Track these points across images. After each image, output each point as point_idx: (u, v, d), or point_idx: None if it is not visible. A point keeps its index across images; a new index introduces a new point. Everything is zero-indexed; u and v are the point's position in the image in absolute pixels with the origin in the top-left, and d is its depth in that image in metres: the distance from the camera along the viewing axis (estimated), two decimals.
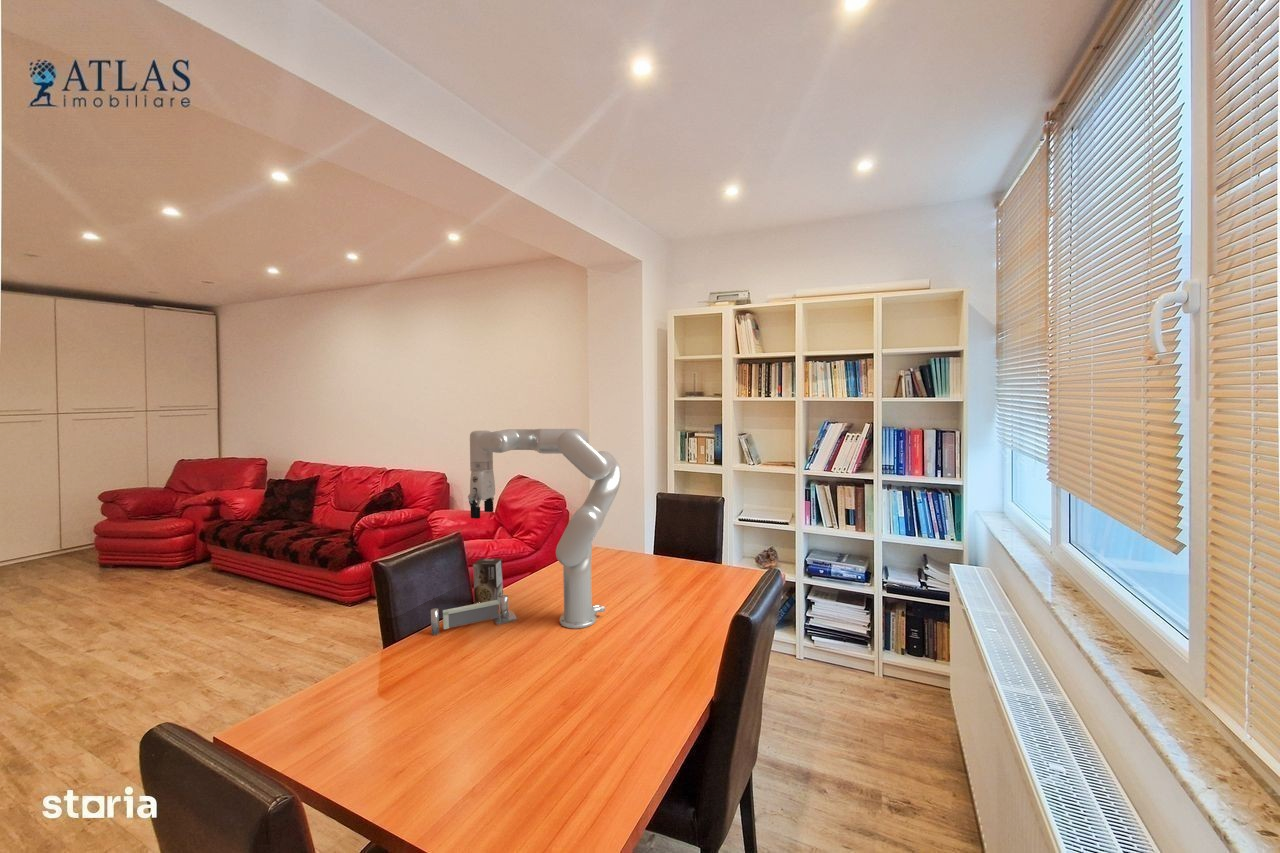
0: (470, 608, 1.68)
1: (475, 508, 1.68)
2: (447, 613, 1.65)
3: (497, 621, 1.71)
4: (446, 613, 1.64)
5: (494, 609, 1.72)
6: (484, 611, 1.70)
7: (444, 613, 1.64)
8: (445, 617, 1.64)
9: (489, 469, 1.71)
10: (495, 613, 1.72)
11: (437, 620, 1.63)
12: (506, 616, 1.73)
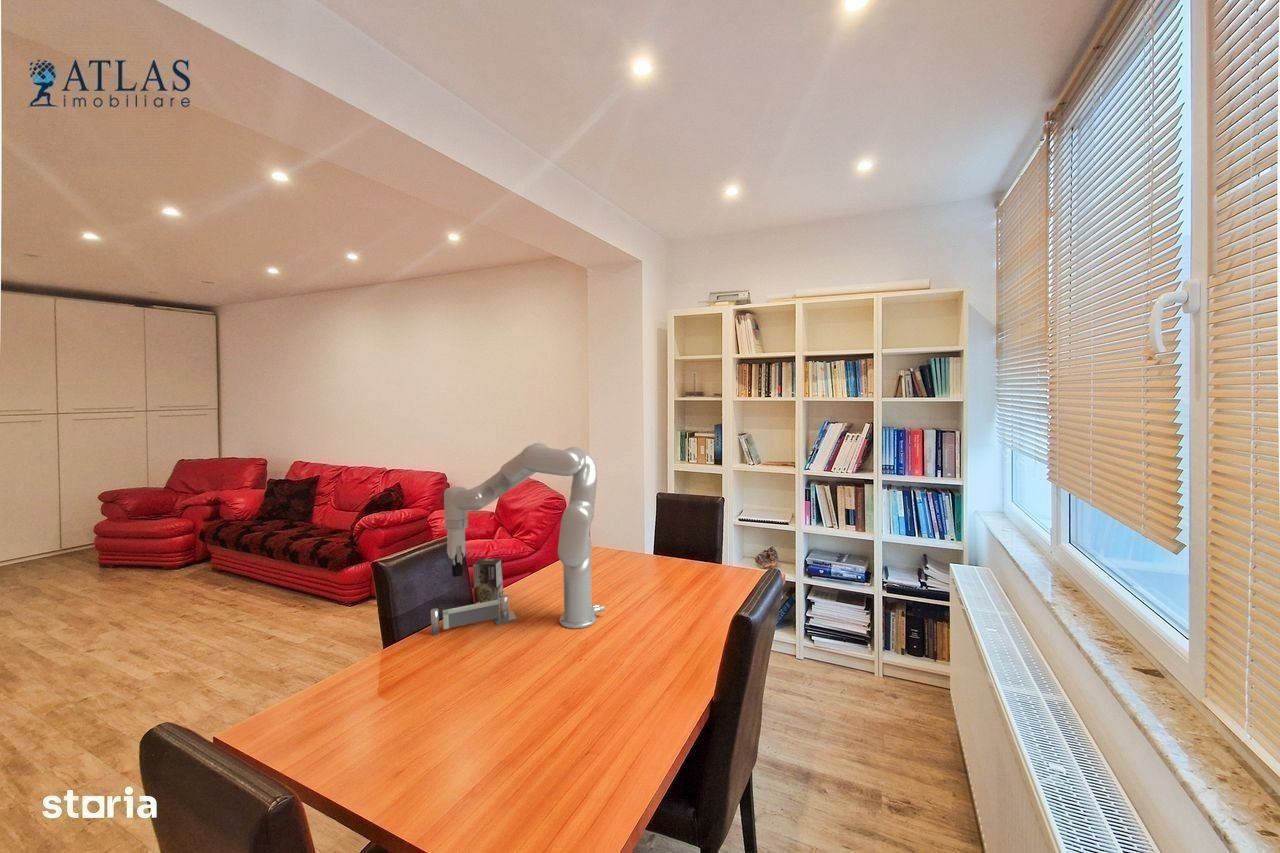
0: (470, 608, 1.68)
1: None
2: (447, 613, 1.65)
3: (497, 621, 1.71)
4: (446, 613, 1.64)
5: (494, 609, 1.72)
6: (484, 611, 1.70)
7: (444, 613, 1.64)
8: (445, 617, 1.64)
9: None
10: (495, 613, 1.72)
11: (437, 620, 1.63)
12: (506, 616, 1.73)
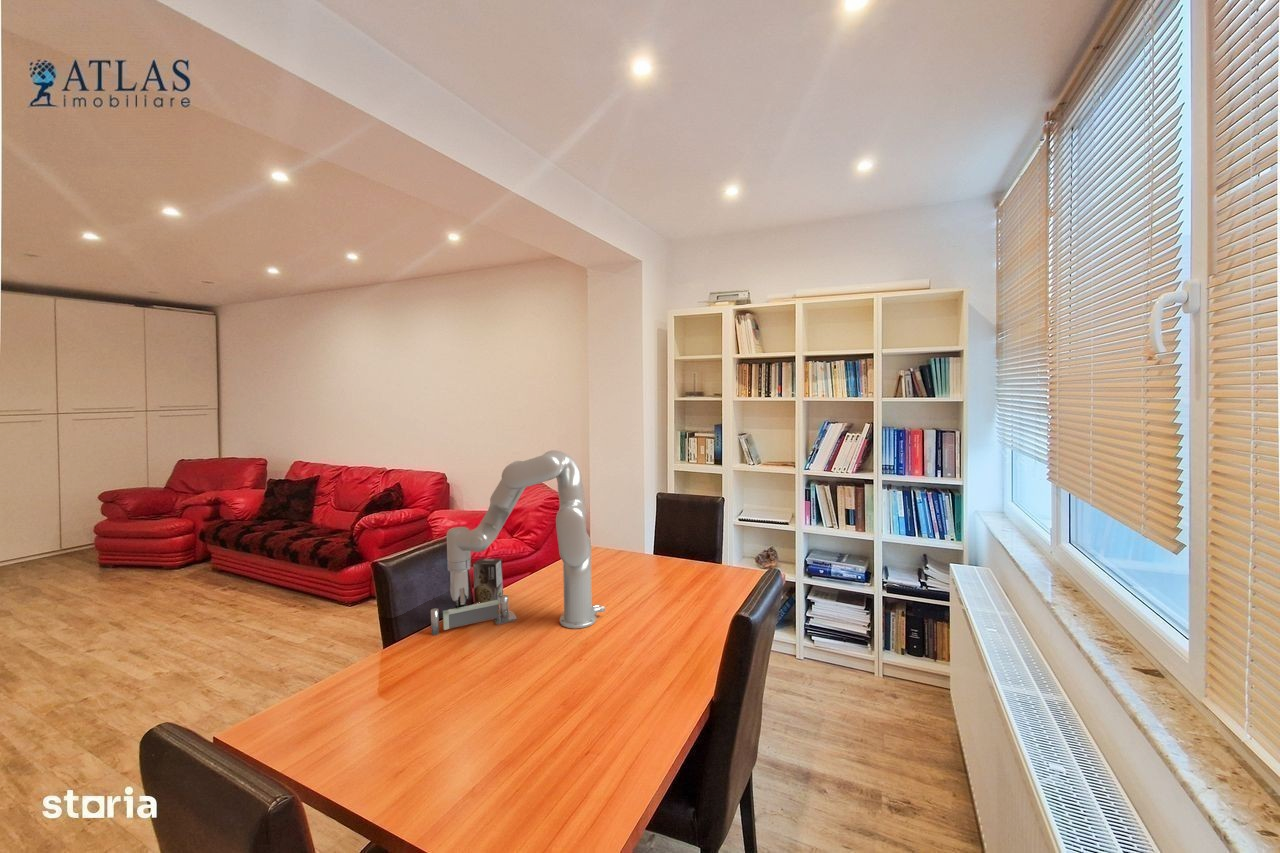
0: (470, 608, 1.68)
1: None
2: (447, 613, 1.64)
3: (497, 621, 1.71)
4: (446, 613, 1.64)
5: (494, 609, 1.72)
6: (484, 611, 1.70)
7: (444, 613, 1.64)
8: (445, 617, 1.64)
9: None
10: (495, 613, 1.72)
11: (437, 620, 1.63)
12: (506, 616, 1.73)
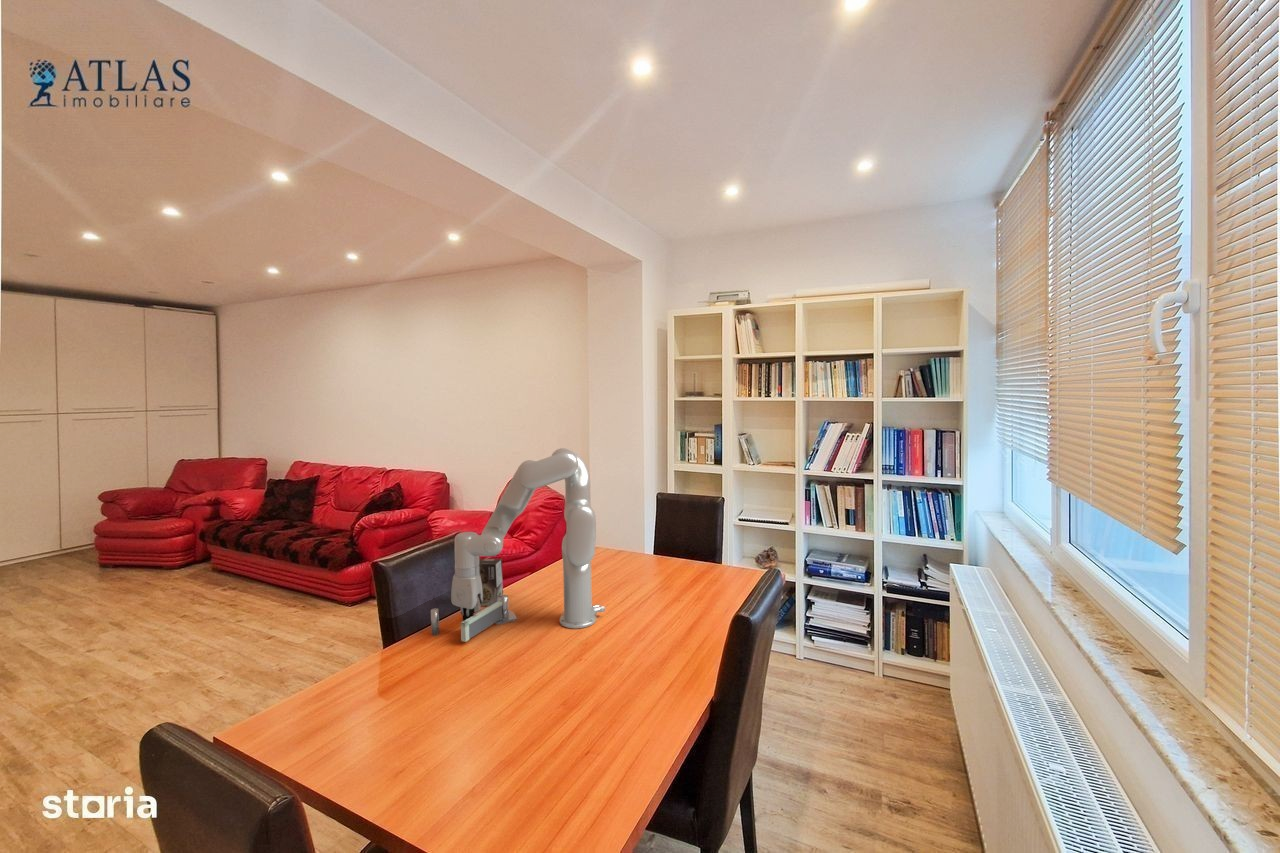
0: (483, 614, 1.63)
1: None
2: (468, 624, 1.57)
3: (497, 621, 1.71)
4: (467, 624, 1.56)
5: (499, 611, 1.71)
6: (492, 614, 1.68)
7: (466, 624, 1.56)
8: (466, 628, 1.56)
9: (456, 576, 1.60)
10: (499, 614, 1.71)
11: (437, 620, 1.63)
12: (506, 616, 1.73)
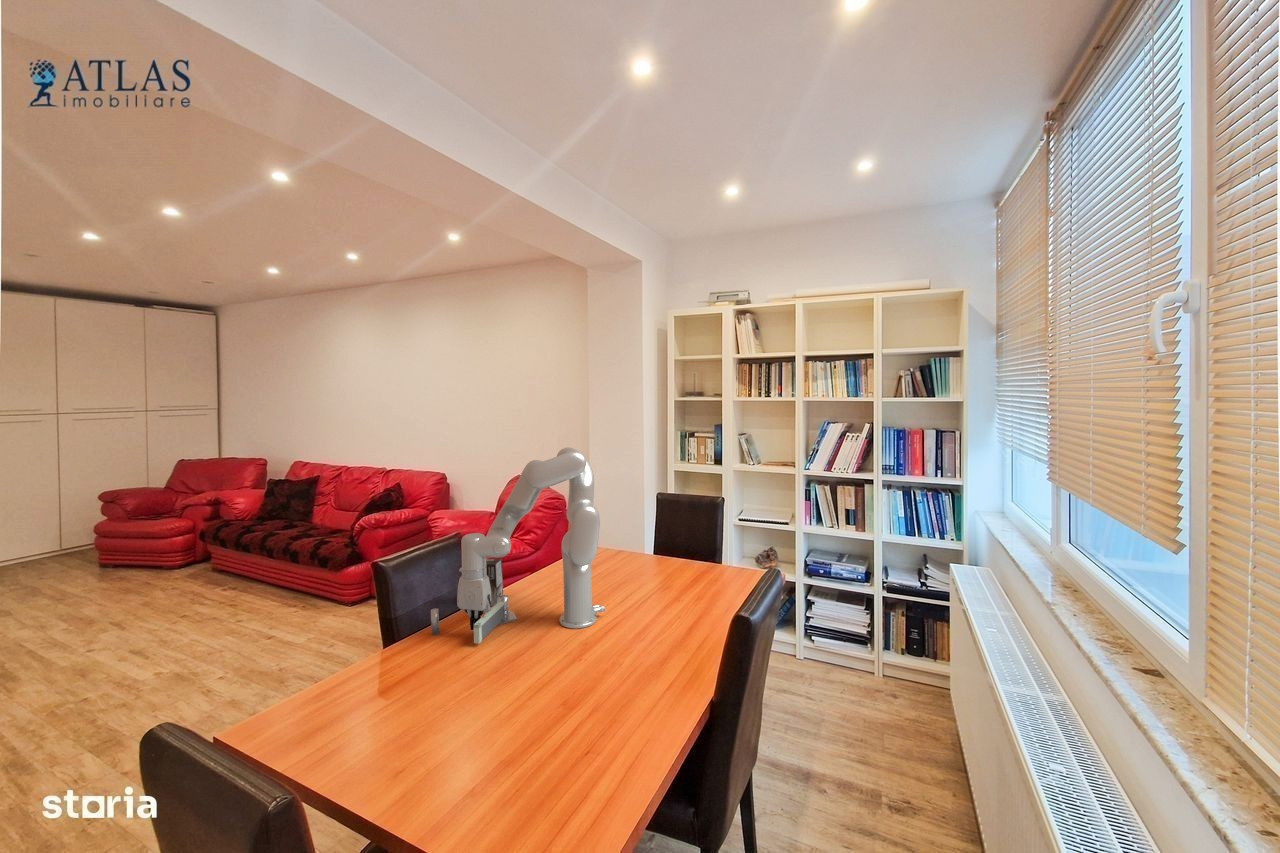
0: (491, 614, 1.63)
1: None
2: (481, 625, 1.55)
3: None
4: (480, 625, 1.55)
5: (501, 611, 1.71)
6: (497, 615, 1.67)
7: (479, 626, 1.55)
8: (480, 630, 1.55)
9: (464, 578, 1.57)
10: (502, 614, 1.71)
11: (437, 620, 1.63)
12: (506, 616, 1.73)
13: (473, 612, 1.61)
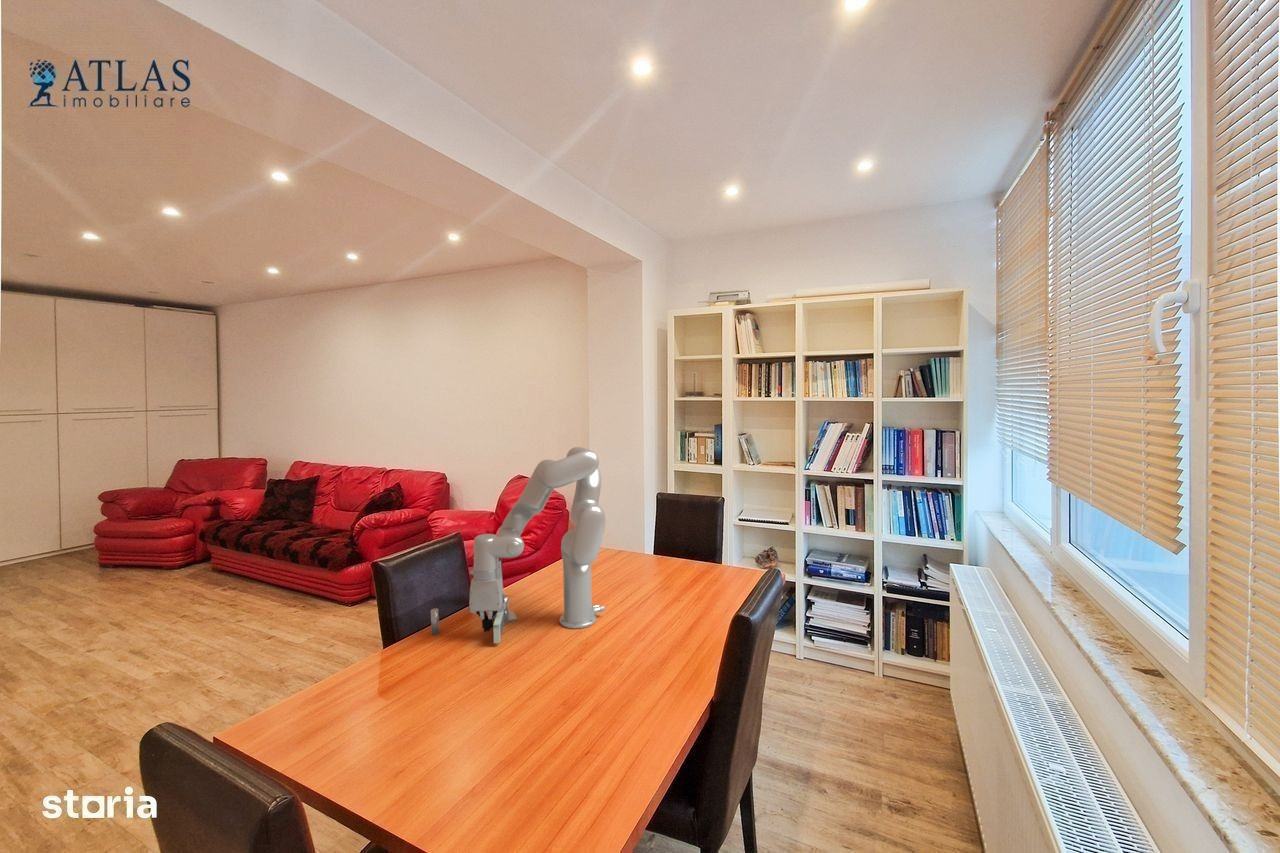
0: (502, 614, 1.63)
1: None
2: (499, 624, 1.56)
3: None
4: (499, 624, 1.55)
5: (504, 610, 1.71)
6: (503, 614, 1.67)
7: (499, 625, 1.55)
8: (499, 629, 1.55)
9: (479, 580, 1.56)
10: (505, 614, 1.71)
11: (437, 620, 1.63)
12: (506, 616, 1.73)
13: (485, 614, 1.60)
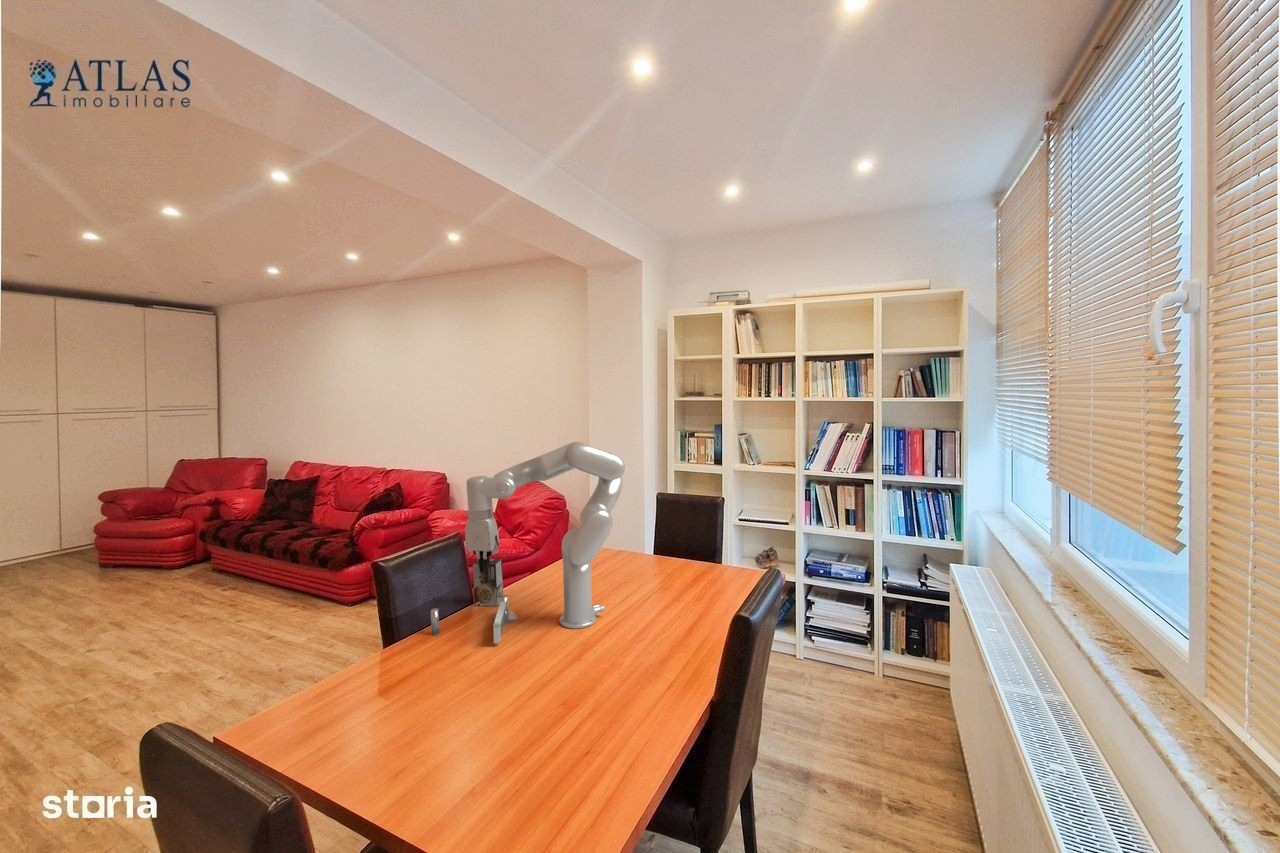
0: (502, 614, 1.63)
1: None
2: (499, 624, 1.56)
3: None
4: (499, 624, 1.55)
5: (504, 610, 1.71)
6: (503, 614, 1.67)
7: (499, 625, 1.55)
8: (499, 629, 1.55)
9: (471, 520, 1.58)
10: (505, 614, 1.71)
11: (437, 620, 1.63)
12: (506, 616, 1.73)
13: (482, 554, 1.63)
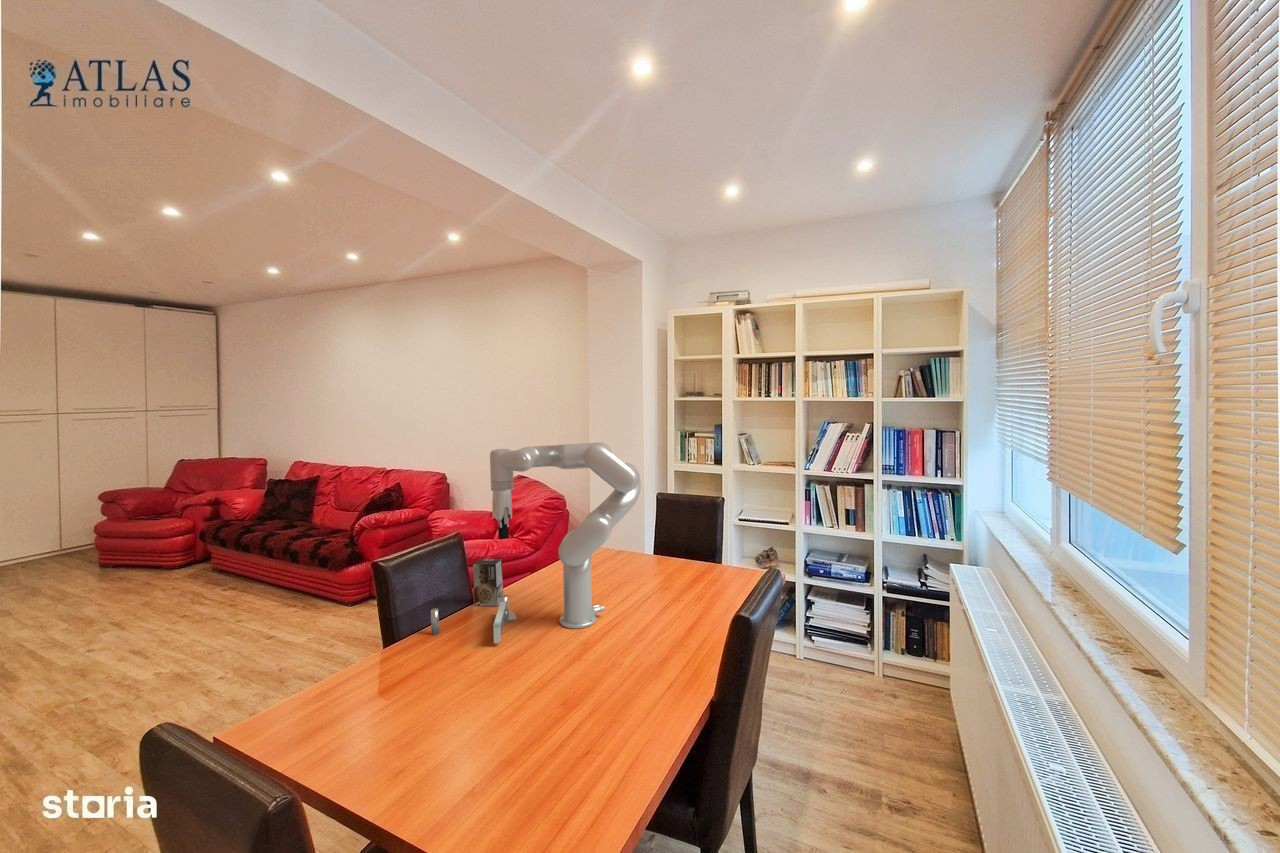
0: (502, 614, 1.63)
1: None
2: (499, 624, 1.56)
3: None
4: (499, 624, 1.55)
5: (504, 610, 1.71)
6: (503, 614, 1.67)
7: (499, 625, 1.55)
8: (499, 629, 1.55)
9: None
10: (505, 614, 1.71)
11: (437, 620, 1.63)
12: (506, 616, 1.73)
13: None
